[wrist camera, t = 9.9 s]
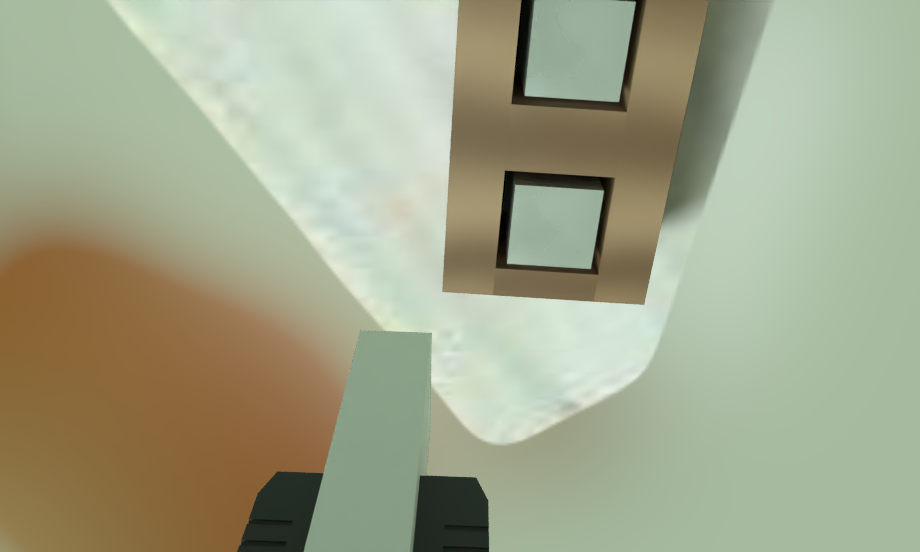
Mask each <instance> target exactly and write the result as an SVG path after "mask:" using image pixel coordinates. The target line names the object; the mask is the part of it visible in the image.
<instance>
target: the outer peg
mask: <svg viewBox="0 0 920 552" xmlns="http://www.w3.org/2000/svg"><path fill="white" fill-rule="evenodd" d="M603 194H604V189H603V187H602V185H601V182H600V180H599V177H597V176H582V175H567V174H552V173H536V172H521V171H507V175H506V186H505V196H504V206H503V219H504V231H505V244H506V257H507V264H520V265H536V266H551V267H567V268H582V269H591V265H592V259H593V253H594V247H595V241H596V235H597V229H598V223H599V217H600V212H601V206H602V200H603Z"/></svg>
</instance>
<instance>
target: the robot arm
mask: <svg viewBox="0 0 920 552" xmlns="http://www.w3.org/2000/svg"><path fill="white" fill-rule="evenodd" d="M431 339H432V333H417V332H391V331H365V330H360V333H359V337H358V341H357V345H356V349H355V353H354V357H353V360H352V365H351V369H350V372H349V377H348V380H347V384H346V388H345V392H344V396H343V400H342V404H341V408H340V411H339V415H338V419H337V423H336V427H335V431H334V435H333V439H332V443H331V447H330V451H329V454H328V458H327V463H326V466H325V470H324V473H301V472H277V473H276V474H275V475H274V476H273V477H272V478H271V479H270V480H269V482H268V483H267V484H266V485H265V486H264V487H263V488H262V489H261V491H260V492H259V493H258V495H257V497H256V500H255V503H254V506H253V509H252V512H251V514H250V517H249V523H248V524H247V526H246V529H245V532H244V535H243V537H242V542H241V545H240V546H239V548H238V551H237V552H489V532H488V528H489V526H488V525H489V523H488V499H487V498H486V496H485V494H484V492H483V490H482V488H481V486H480V484H479V482H478V480H477V478H473V477H446V476H426V475H427V463H428V452H429V440H430V409H431Z"/></svg>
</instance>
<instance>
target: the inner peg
mask: <svg viewBox="0 0 920 552" xmlns="http://www.w3.org/2000/svg"><path fill="white" fill-rule="evenodd" d="M635 4H636V2H635V1H634V0H524V2H523V12H522V22H521V32H520V42H519V53H518V63H517V65H518V69H519V74H520V78H521V82H522V87H523V91H524V95H525V96H533V97H548V98H563V99H578V100H593V101H608V102H619V99H620V93H621V87H622V81H623V75H624V69H625V63H626V58H627V52H628V46H629V40H630V34H631V28H632V22H633V16H634V10H635Z"/></svg>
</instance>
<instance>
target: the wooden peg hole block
mask: <svg viewBox="0 0 920 552" xmlns="http://www.w3.org/2000/svg"><path fill="white" fill-rule="evenodd" d="M634 1H635V2H636V4H635V10H634V16H633V22H632V28H631V34H630V40H629V46H628V52H627V58H626V63H625V69H624V75H623V81H622V87H621V93H620V99H619V102H608V101H593V100H578V99H563V98H548V97H533V96H525V95H524V91H523V87H522V82H521V78H520V74H519V69H515V61H516V50H517V40H518V29H519V19H520V9H521V0H459V9H458V27H457V45H456V62H455V80H454V97H453V115H452V132H451V150H450V167H449V185H448V203H447V220H446V238H445V255H444V273H443V290H442V292H452V293H468V294H484V295H499V296H515V297H531V298H546V299H562V300H578V301H593V302H609V303H625V304H640V305H644V302H645V298H646V293H647V288H648V284H649V279H650V274H651V270H652V265H653V261H654V256H655V251H656V247H657V242H658V237H659V233H660V228H661V223H662V219H663V214H664V209H665V205H666V200H667V195H668V191H669V186H670V182H671V177H672V172H673V168H674V163H675V158H676V154H677V149H678V144H679V140H680V135H681V130H682V126H683V121H684V116H685V112H686V107H687V103H688V98H689V93H690V89H691V84H692V79H693V75H694V70H695V65H696V61H697V56H698V51H699V47H700V42H701V38H702V33H703V28H704V24H705V19H706V14H707V10H708V5H709V0H634ZM505 170H506V171H521V172H536V173H552V174H567V175H582V176H597V177H599V180H600V182H601V185H602V187H603V189H604V194H603V200H602V206H601V212H600V217H599V223H598V229H597V235H596V241H595V247H594V253H593V259H592V265H591V269H582V268H567V267H551V266H536V265H520V264H507V257H506V244H505V231H504V219H503V212H501V206H502V196H503V185H504V175H505Z"/></svg>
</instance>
